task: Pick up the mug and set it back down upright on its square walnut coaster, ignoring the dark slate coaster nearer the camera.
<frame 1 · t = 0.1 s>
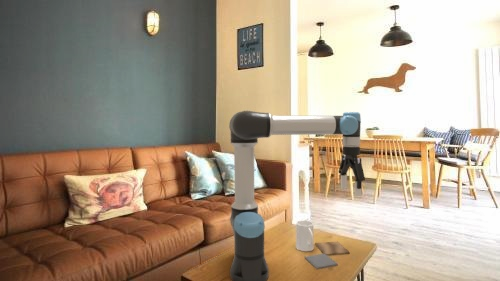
hand: (350, 192, 131), 28 cm above the table, fingers open, 13 cm apart
mug: (306, 249, 135), on the table
slate coaster: (320, 261, 123), on the table
walnut coaster: (331, 249, 135), on the table
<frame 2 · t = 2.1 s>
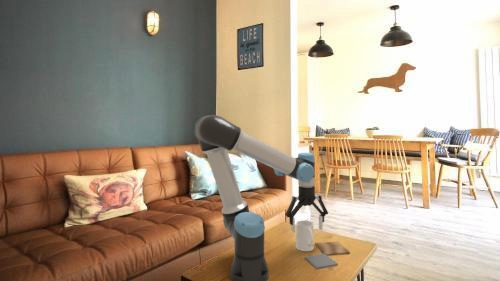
hand: (307, 230, 135), 9 cm above the table, fingers open, 13 cm apart
nothing on the table moved.
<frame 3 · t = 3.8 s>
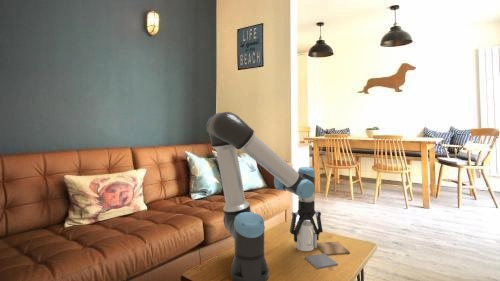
hand: (306, 247, 135), 1 cm above the table, fingers closed on mug, 8 cm apart
mug: (306, 249, 136), on the table, touching gripper
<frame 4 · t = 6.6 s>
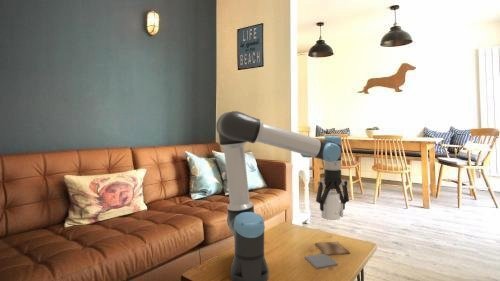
hand: (332, 216, 134), 16 cm above the table, fingers closed on mug, 8 cm apart
mug: (332, 218, 134), point 15 cm above the table, touching gripper
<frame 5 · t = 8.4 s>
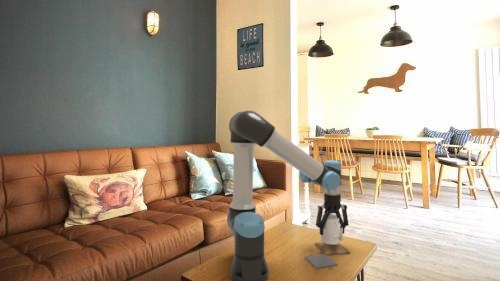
hand: (331, 240, 135), 4 cm above the table, fingers closed on mug, 8 cm apart
mug: (332, 242, 135), point 3 cm above the table, touching gripper
when the fingers open (3 cm above the table, at t = 9.5 s): mug drops 1 cm, resting on walnut coaster.
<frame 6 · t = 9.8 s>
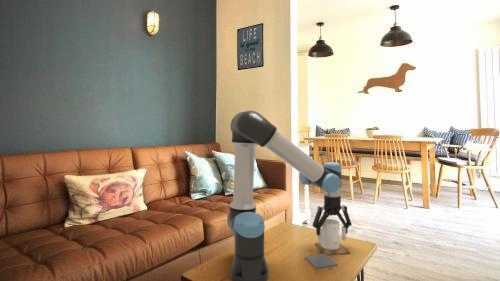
hand: (331, 241, 135), 4 cm above the table, fingers open, 11 cm apart
mug: (331, 247, 135), point 1 cm above the table, touching walnut coaster
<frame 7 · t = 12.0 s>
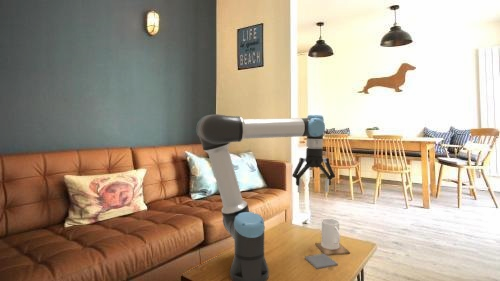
hand: (313, 192, 136), 27 cm above the table, fingers open, 13 cm apart
nothing on the table moved.
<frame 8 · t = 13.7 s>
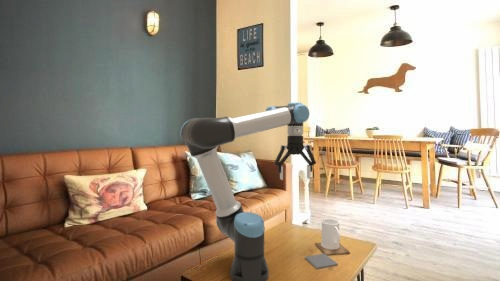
hand: (295, 179, 138), 33 cm above the table, fingers open, 13 cm apart
nothing on the table moved.
at the end: mug inside the target area on the walnut coaster (0.0 cm from its centre), point 0.6 cm above the walnut coaster's base; mug tilted 0°; the gripper is holding nothing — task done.
